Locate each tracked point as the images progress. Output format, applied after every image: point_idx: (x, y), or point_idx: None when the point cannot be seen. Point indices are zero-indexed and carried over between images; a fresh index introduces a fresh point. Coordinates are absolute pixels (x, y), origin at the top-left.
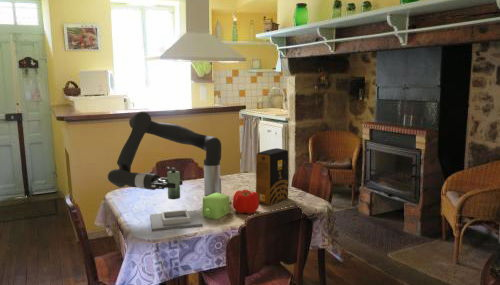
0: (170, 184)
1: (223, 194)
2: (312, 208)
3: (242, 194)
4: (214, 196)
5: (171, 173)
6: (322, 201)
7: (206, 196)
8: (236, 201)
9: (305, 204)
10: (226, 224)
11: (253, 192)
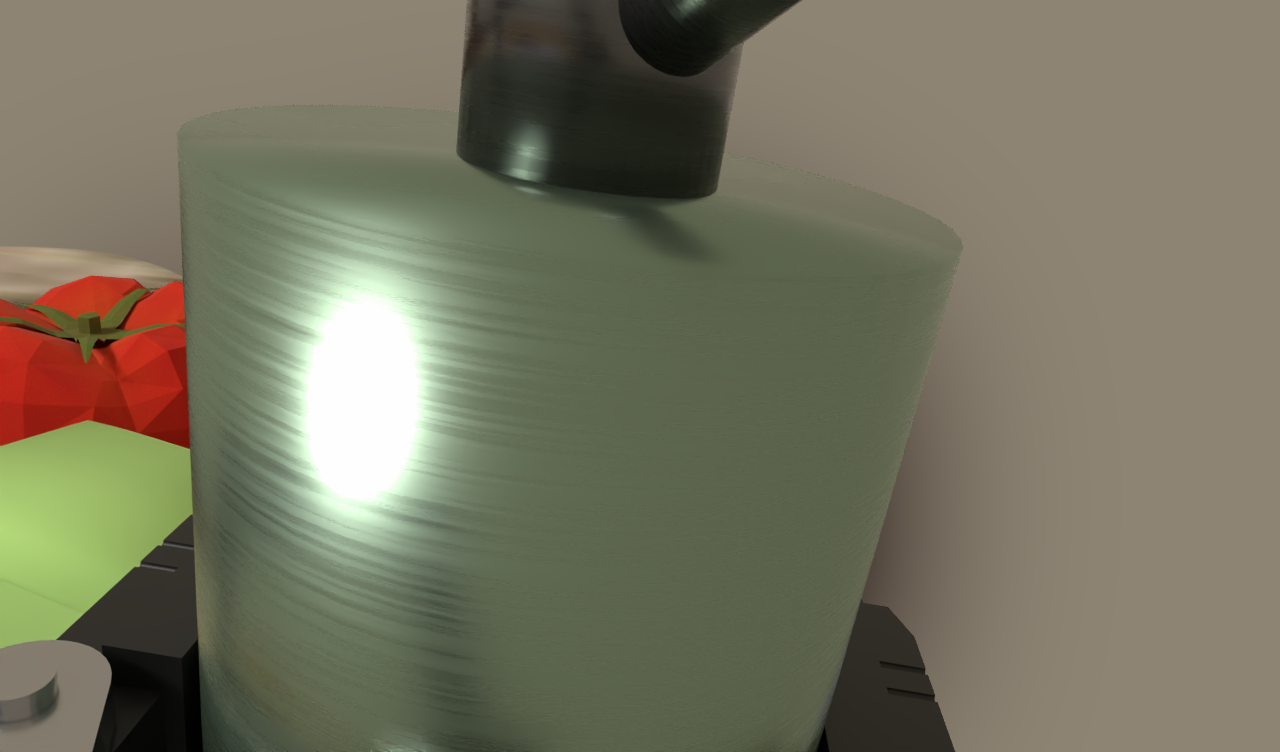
0: (907, 687)
1: (8, 449)
2: (146, 284)
3: (175, 325)
4: (113, 513)
5: (893, 208)
6: (3, 248)
7: (68, 597)
8: (187, 427)
9: (35, 290)
10: None
11: (116, 281)
